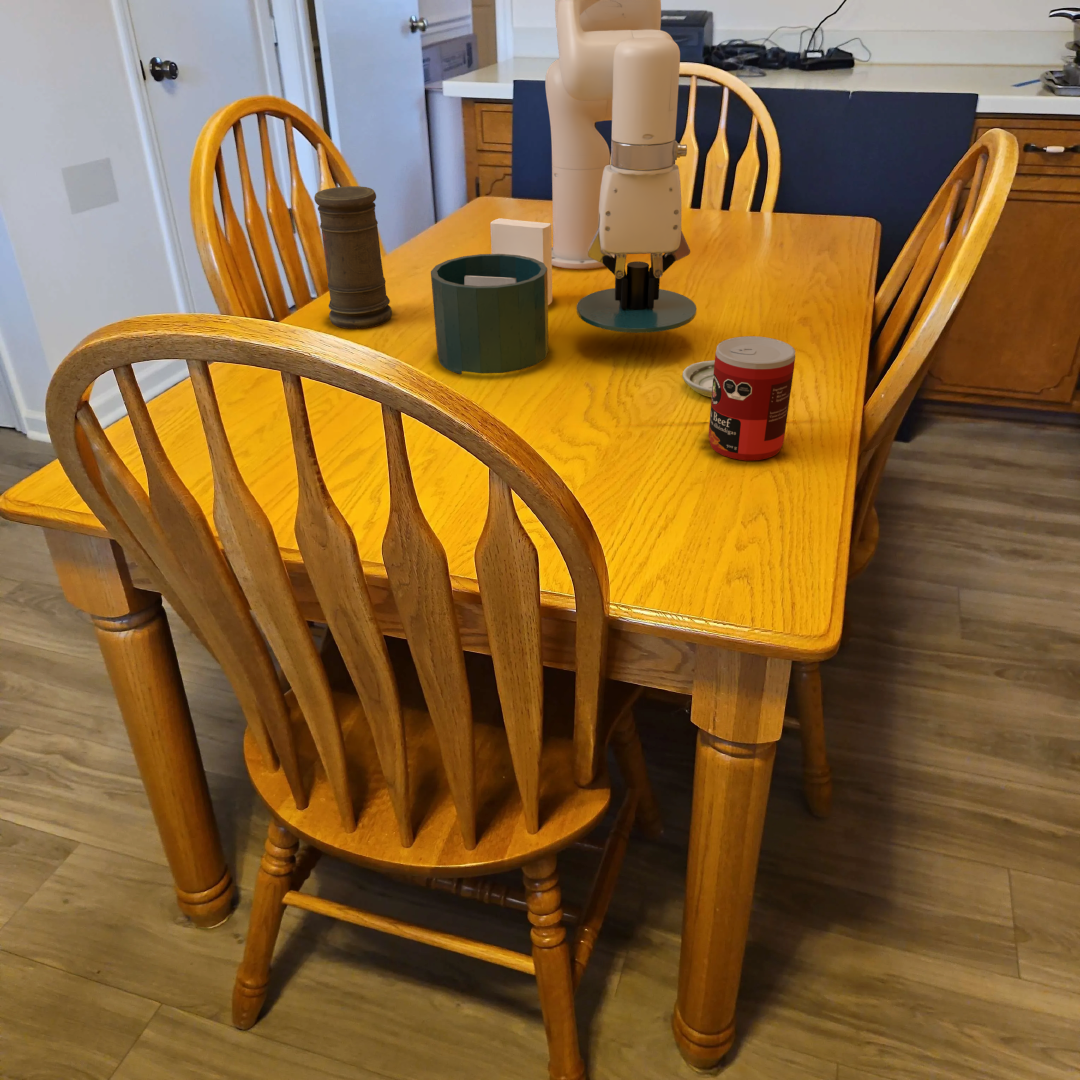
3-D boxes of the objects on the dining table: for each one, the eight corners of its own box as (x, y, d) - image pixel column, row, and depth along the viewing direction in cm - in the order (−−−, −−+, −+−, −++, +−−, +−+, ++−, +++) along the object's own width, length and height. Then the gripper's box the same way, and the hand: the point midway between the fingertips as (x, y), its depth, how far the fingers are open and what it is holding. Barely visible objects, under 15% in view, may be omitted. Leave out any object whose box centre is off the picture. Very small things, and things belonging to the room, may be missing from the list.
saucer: (744, 416, 106) (746, 396, 105) (667, 399, 111) (669, 380, 109) (774, 387, 113) (776, 368, 112) (700, 372, 118) (702, 354, 116)
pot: (441, 337, 130) (435, 255, 124) (547, 335, 130) (546, 252, 124) (433, 378, 117) (425, 289, 111) (550, 375, 118) (548, 286, 111)
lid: (573, 296, 128) (573, 247, 124) (686, 294, 128) (690, 245, 124) (579, 338, 115) (580, 285, 111) (705, 336, 115) (709, 283, 111)
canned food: (700, 432, 103) (708, 337, 97) (770, 428, 104) (782, 333, 98) (717, 464, 97) (726, 365, 91) (792, 460, 97) (806, 360, 91)
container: (401, 311, 139) (389, 186, 130) (373, 332, 132) (358, 201, 122) (349, 306, 142) (332, 183, 132) (318, 326, 135) (299, 197, 125)
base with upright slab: (561, 298, 143) (561, 218, 137) (537, 316, 136) (535, 233, 130) (509, 291, 146) (506, 213, 140) (483, 309, 140) (478, 227, 133)
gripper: (705, 147, 114) (694, 294, 124) (573, 150, 114) (572, 297, 124) (716, 161, 107) (703, 314, 118) (576, 164, 107) (575, 317, 118)
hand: (636, 304), depth 121 cm, fingers closed on lid, 2 cm apart
